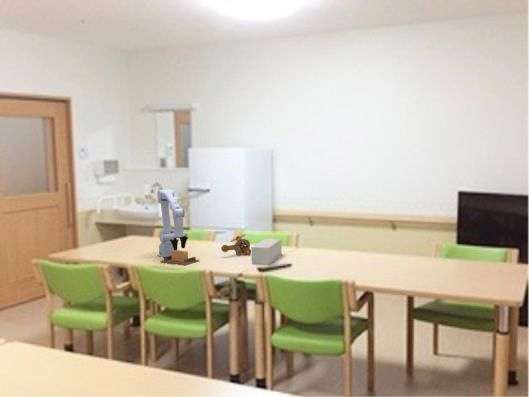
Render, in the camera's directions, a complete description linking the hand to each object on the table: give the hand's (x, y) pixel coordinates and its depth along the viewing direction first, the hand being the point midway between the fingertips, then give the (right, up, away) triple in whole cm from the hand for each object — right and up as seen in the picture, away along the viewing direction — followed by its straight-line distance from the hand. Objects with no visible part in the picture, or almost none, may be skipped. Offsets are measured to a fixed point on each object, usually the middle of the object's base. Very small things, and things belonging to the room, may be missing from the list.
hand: (179, 249), depth 353 cm
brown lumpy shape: (+35, -6, +18) cm, 40 cm away
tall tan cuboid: (0, -7, +1) cm, 7 cm away
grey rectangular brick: (+55, -7, +6) cm, 56 cm away
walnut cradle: (0, -8, +1) cm, 8 cm away
